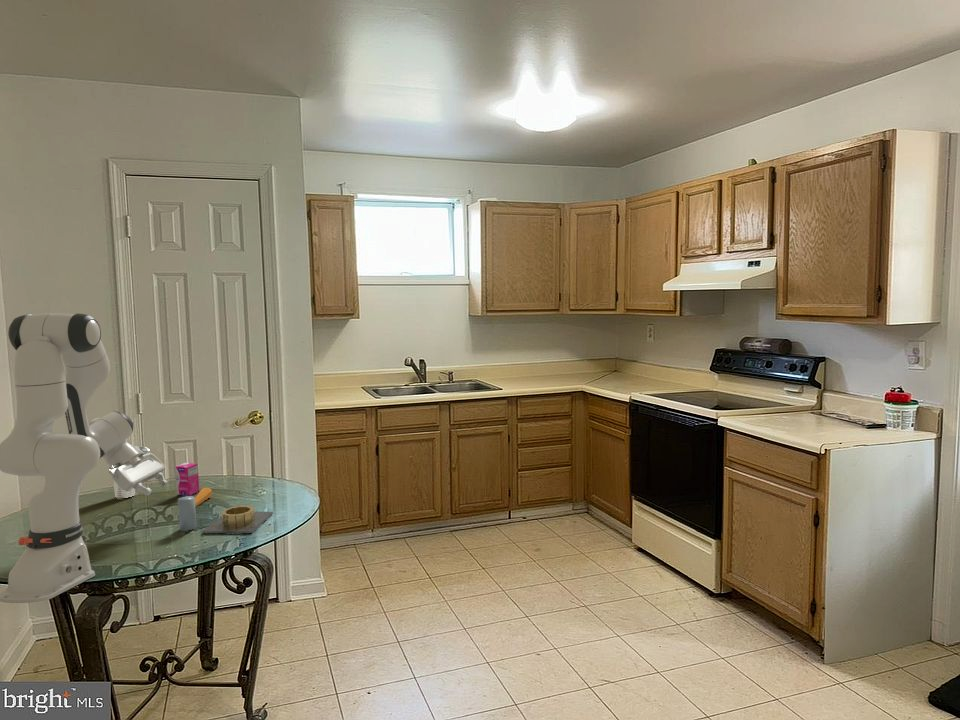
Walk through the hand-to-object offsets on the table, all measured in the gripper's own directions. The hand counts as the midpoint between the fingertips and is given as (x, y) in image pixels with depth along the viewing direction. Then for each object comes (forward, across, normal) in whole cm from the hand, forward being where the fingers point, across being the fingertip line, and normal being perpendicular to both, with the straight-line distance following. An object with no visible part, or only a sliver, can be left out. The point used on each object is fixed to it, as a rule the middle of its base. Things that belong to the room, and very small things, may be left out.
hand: (157, 489), depth 211 cm
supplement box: (+3, +37, +16) cm, 40 cm away
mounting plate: (+26, +4, -8) cm, 28 cm away
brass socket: (+26, +4, -8) cm, 28 cm away
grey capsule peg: (+16, 0, +3) cm, 16 cm away
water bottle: (-14, +34, +33) cm, 49 cm away
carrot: (+9, +24, +10) cm, 27 cm away
